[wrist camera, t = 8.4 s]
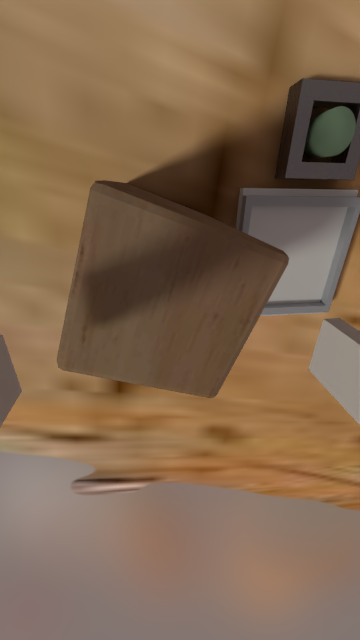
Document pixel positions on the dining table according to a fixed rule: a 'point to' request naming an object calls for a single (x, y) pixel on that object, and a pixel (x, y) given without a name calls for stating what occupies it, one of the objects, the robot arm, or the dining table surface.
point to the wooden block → (162, 292)
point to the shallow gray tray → (302, 241)
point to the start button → (330, 132)
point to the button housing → (297, 124)
